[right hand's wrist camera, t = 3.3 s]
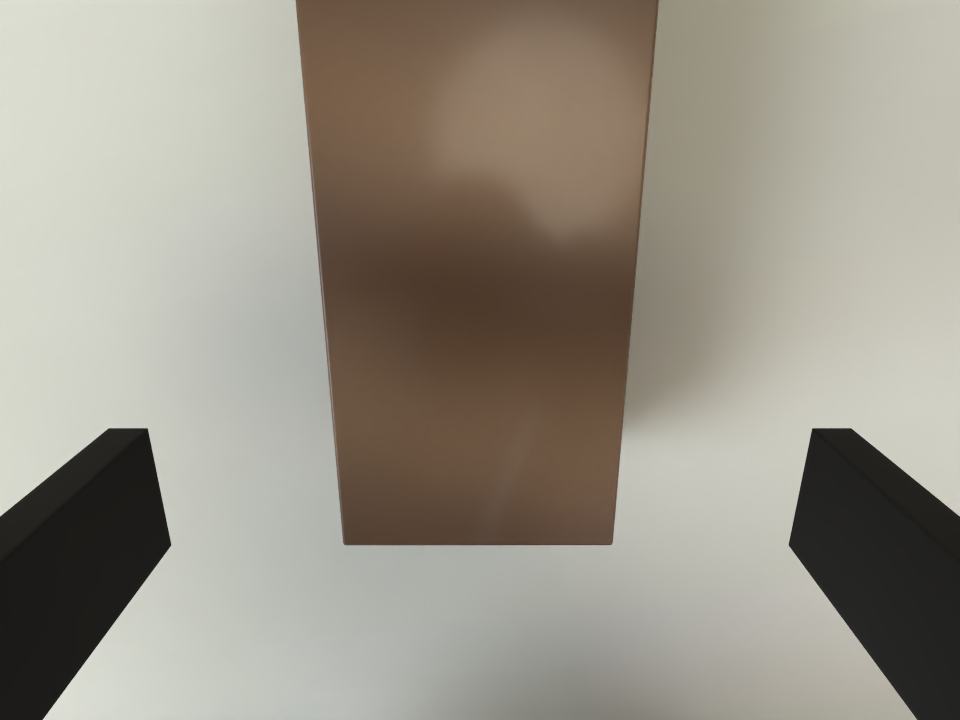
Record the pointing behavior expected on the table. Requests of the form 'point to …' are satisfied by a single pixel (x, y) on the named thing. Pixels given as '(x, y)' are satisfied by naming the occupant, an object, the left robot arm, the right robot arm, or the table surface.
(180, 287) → the table surface
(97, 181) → the table surface
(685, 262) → the table surface
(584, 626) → the table surface
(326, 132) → the slab
